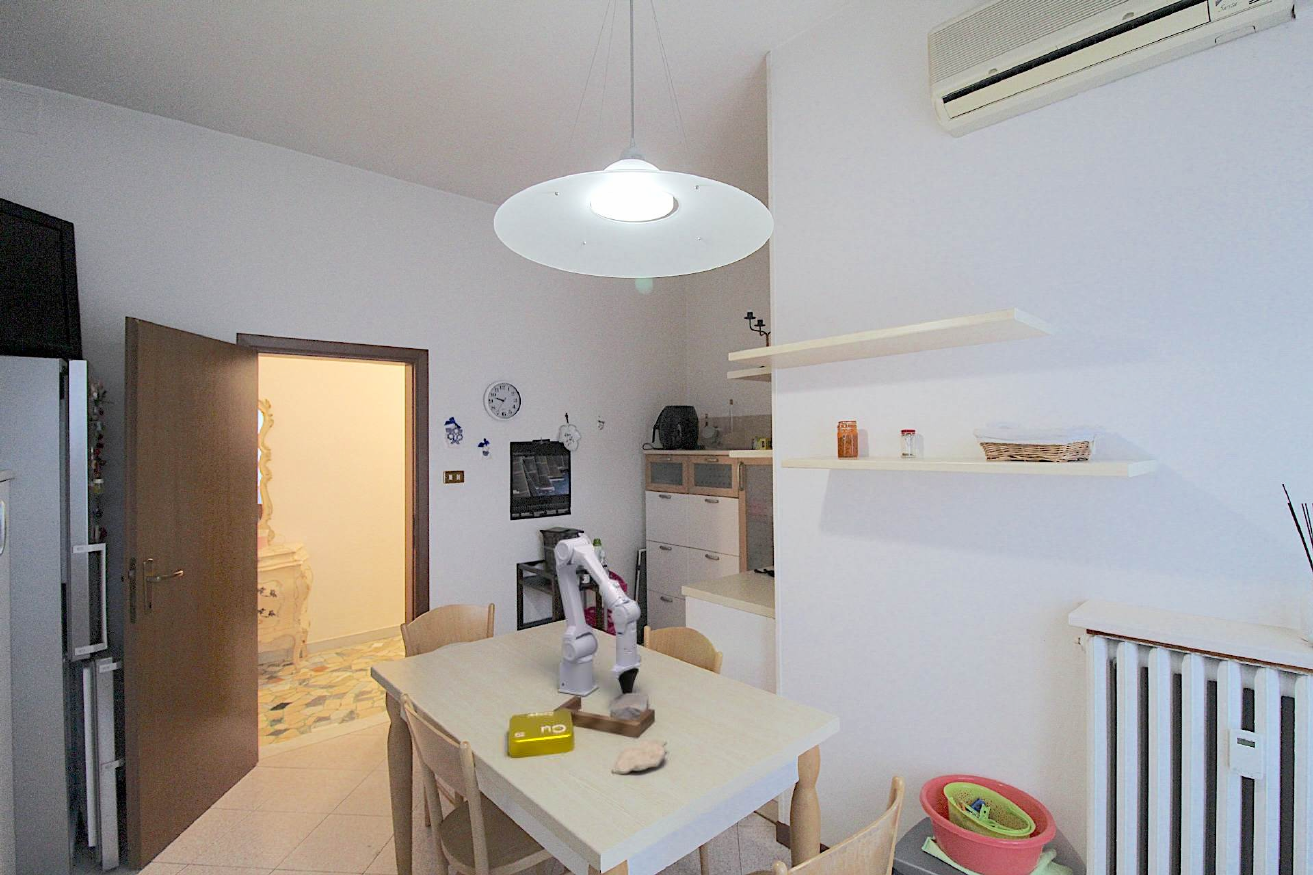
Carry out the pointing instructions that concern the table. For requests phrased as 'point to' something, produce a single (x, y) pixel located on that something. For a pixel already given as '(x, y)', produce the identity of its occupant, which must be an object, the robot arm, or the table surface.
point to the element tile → (540, 734)
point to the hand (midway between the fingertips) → (627, 695)
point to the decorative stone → (640, 757)
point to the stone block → (629, 706)
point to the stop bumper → (608, 720)
